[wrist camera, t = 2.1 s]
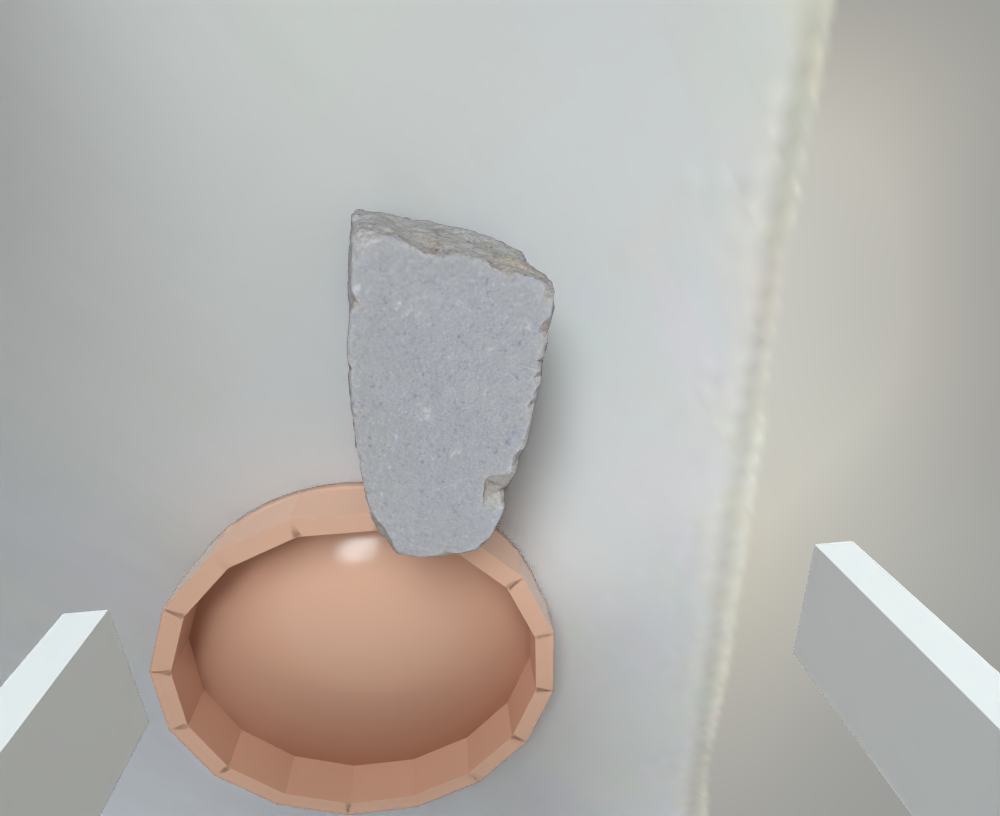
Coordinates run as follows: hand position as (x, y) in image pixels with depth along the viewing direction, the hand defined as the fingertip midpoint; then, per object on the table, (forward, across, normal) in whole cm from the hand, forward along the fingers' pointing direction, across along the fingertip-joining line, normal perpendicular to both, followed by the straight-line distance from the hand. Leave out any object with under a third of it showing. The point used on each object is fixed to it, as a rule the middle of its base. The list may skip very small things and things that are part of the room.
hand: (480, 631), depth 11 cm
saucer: (+19, -6, -17) cm, 26 cm away
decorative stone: (+19, 0, 0) cm, 19 cm away
